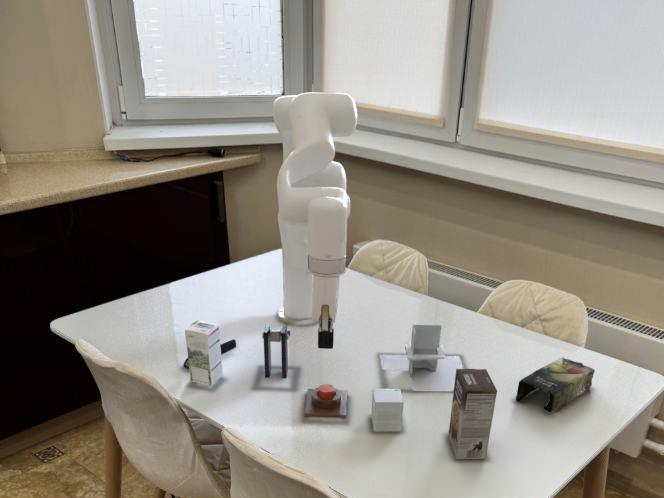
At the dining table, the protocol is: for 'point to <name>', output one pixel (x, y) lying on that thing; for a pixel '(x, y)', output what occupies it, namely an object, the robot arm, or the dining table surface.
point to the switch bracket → (268, 350)
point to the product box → (387, 410)
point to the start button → (326, 391)
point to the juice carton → (558, 382)
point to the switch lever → (276, 335)
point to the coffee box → (471, 413)
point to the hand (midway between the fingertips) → (325, 346)
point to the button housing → (326, 404)
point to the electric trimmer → (224, 348)
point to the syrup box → (204, 352)
